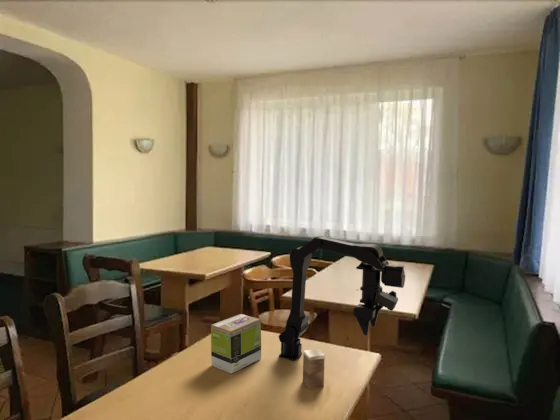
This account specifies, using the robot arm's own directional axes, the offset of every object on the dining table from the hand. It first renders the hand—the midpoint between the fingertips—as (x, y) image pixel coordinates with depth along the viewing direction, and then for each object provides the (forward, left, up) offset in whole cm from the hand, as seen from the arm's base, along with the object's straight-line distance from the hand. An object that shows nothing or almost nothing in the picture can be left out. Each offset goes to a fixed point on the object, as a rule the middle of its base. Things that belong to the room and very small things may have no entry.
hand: (369, 330), depth 140 cm
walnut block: (-13, -15, -15) cm, 25 cm away
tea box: (-42, -14, -15) cm, 47 cm away
